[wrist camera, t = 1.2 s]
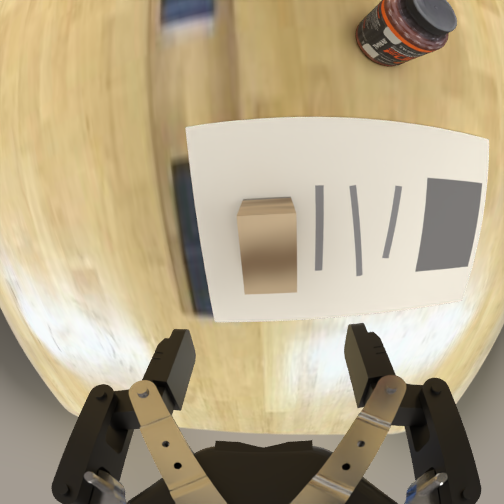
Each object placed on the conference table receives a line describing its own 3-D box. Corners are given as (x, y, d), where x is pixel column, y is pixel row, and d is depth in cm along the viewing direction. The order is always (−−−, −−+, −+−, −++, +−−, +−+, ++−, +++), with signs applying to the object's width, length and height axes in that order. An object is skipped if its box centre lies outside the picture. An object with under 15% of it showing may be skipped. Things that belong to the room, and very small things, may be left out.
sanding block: (243, 199, 26) (236, 216, 21) (290, 196, 25) (296, 213, 20) (249, 265, 28) (244, 294, 24) (292, 263, 28) (297, 292, 23)
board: (189, 127, 24) (185, 127, 23) (481, 138, 21) (489, 139, 20) (216, 314, 33) (214, 322, 32) (457, 295, 30) (462, 300, 29)
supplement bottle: (367, 70, 21) (422, 42, 10) (345, 22, 18) (384, -28, 8) (413, 65, 19) (477, 45, 9) (392, 18, 17) (444, -19, 7)
